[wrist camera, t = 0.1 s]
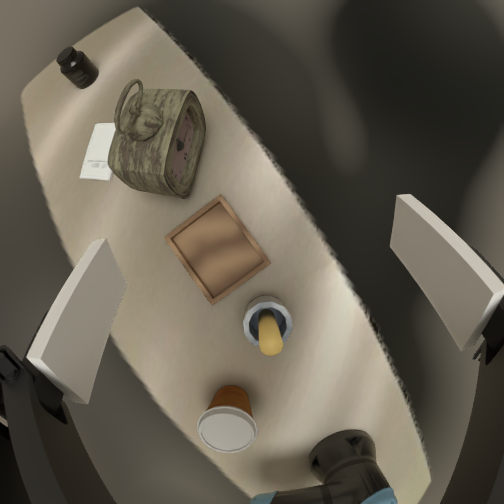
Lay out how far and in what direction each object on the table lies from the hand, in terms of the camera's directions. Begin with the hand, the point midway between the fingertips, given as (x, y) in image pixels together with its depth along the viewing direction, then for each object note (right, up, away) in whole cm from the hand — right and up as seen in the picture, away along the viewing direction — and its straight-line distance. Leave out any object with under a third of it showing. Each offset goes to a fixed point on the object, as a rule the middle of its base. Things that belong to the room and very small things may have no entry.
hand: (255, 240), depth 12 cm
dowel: (+2, -11, +34) cm, 36 cm away
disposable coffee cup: (-4, -28, +36) cm, 46 cm away
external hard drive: (-31, +20, +37) cm, 52 cm away
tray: (-6, 0, +36) cm, 36 cm away
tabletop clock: (-14, +15, +36) cm, 42 cm away
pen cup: (+2, -11, +35) cm, 37 cm away
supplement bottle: (-41, +42, +37) cm, 69 cm away
